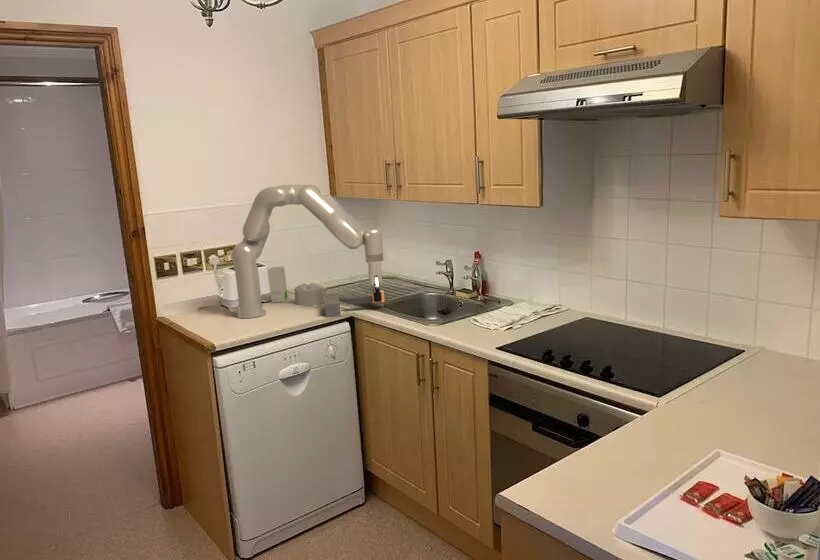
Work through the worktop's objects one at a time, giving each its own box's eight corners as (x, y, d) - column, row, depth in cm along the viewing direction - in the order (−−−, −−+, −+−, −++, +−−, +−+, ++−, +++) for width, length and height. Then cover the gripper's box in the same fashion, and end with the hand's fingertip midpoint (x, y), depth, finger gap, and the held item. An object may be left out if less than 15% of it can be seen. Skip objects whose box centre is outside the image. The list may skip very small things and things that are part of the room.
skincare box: (284, 302, 299) (281, 269, 296) (270, 303, 299) (267, 270, 296) (288, 298, 308) (285, 265, 304) (274, 298, 308) (271, 266, 305)
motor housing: (326, 317, 268) (324, 301, 266) (326, 309, 281) (325, 294, 280) (340, 316, 268) (339, 300, 267) (340, 308, 282) (338, 293, 281)
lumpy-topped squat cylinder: (314, 306, 288) (313, 287, 286) (290, 305, 293) (288, 286, 292) (327, 301, 297) (325, 282, 295) (303, 299, 303) (301, 281, 301)
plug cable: (346, 305, 273) (345, 295, 272) (346, 303, 277) (345, 293, 276) (384, 301, 275) (383, 292, 274) (383, 299, 278) (383, 290, 278)
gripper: (364, 255, 280) (367, 296, 284) (366, 262, 264) (370, 305, 268) (381, 254, 281) (384, 295, 285) (384, 260, 265) (388, 303, 268)
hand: (377, 299), depth 276 cm, fingers closed on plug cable, 4 cm apart
